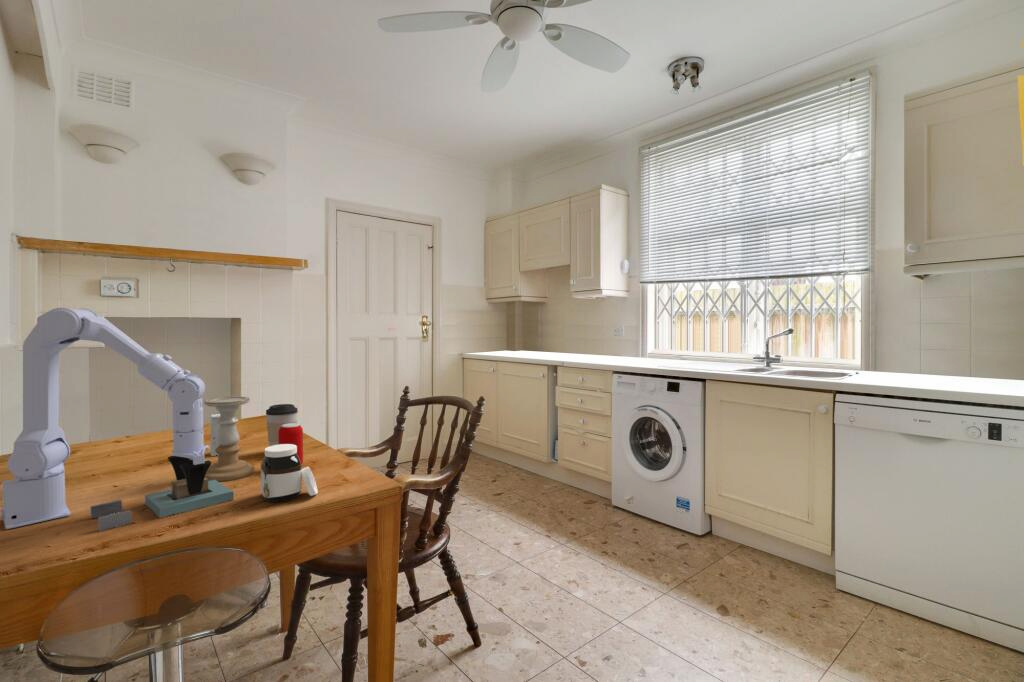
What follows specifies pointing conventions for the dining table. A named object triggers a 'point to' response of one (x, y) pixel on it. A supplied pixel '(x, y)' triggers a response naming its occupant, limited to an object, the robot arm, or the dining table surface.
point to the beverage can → (292, 437)
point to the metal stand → (110, 520)
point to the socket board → (187, 500)
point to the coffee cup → (279, 420)
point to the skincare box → (214, 433)
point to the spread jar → (284, 474)
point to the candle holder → (228, 441)
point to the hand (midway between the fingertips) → (189, 489)
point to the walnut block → (185, 489)
